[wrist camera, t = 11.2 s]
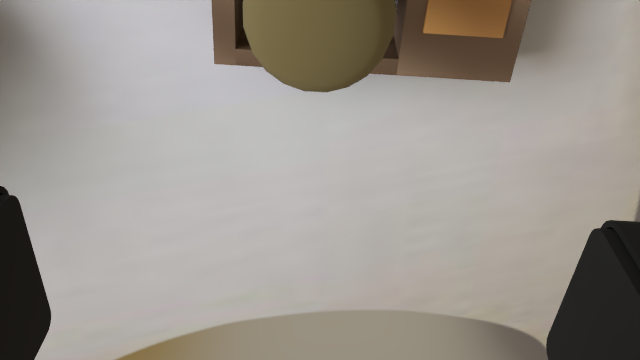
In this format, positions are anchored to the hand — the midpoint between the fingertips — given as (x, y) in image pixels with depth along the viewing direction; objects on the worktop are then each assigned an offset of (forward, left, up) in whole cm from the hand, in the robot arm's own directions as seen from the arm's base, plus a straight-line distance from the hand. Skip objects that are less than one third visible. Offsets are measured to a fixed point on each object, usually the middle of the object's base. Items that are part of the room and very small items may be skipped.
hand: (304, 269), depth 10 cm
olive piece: (0, 0, -22) cm, 22 cm away
